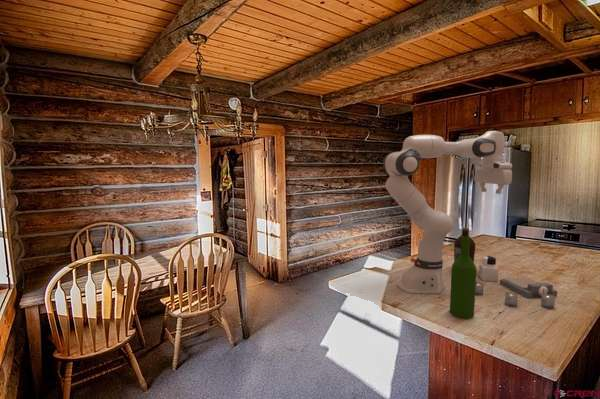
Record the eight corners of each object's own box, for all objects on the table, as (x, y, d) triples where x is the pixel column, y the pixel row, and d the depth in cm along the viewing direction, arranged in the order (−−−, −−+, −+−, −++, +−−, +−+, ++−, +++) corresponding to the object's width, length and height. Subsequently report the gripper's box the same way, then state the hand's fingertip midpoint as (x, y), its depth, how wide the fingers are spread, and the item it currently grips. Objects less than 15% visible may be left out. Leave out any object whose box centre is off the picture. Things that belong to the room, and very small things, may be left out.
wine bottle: (466, 308, 136) (470, 233, 132) (478, 318, 127) (483, 239, 123) (445, 308, 135) (449, 234, 131) (456, 319, 126) (460, 239, 122)
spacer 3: (547, 309, 134) (548, 298, 133) (538, 304, 138) (539, 293, 138) (556, 308, 134) (558, 297, 134) (547, 304, 139) (548, 293, 138)
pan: (522, 289, 148) (522, 287, 148) (503, 279, 160) (503, 278, 160) (547, 287, 150) (547, 286, 150) (526, 278, 162) (526, 276, 162)
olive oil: (463, 267, 186) (465, 225, 183) (478, 273, 176) (481, 229, 173) (448, 269, 183) (450, 227, 180) (463, 276, 173) (465, 231, 170)
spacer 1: (476, 295, 148) (477, 285, 147) (470, 292, 152) (470, 282, 152) (485, 295, 148) (485, 285, 148) (478, 291, 153) (479, 281, 152)
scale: (528, 298, 144) (529, 287, 143) (499, 284, 161) (500, 273, 160) (557, 296, 146) (558, 285, 145) (525, 282, 163) (526, 272, 163)
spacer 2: (510, 307, 136) (510, 296, 135) (502, 303, 140) (502, 292, 140) (519, 306, 136) (520, 295, 136) (511, 302, 141) (512, 291, 140)
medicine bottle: (493, 277, 171) (494, 255, 169) (497, 282, 164) (499, 259, 163) (478, 276, 173) (479, 254, 171) (482, 280, 166) (483, 258, 165)
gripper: (471, 164, 165) (470, 190, 167) (503, 164, 145) (501, 195, 147) (482, 164, 166) (480, 190, 168) (515, 164, 146) (513, 194, 148)
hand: (490, 192), depth 157 cm, fingers open, 8 cm apart
